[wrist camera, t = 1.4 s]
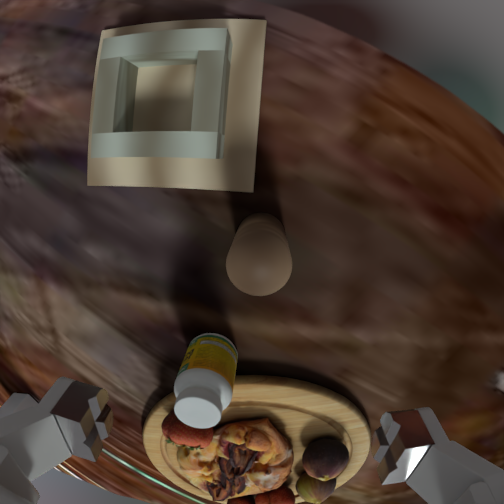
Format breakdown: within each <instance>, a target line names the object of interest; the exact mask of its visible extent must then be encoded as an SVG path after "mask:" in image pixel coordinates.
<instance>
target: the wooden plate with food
mask: <svg viewBox="0 0 504 504" xmlns="http://www.w3.org/2000/svg"><path fill="white" fill-rule="evenodd" d="M175 402H176V396H175V393H174V391H173V392H172V393H170V394H169V395H167V396H166V397H164V398H163V399H162V400H160V401H159V402H158V403H156V404H155V406H154V407H153V408H152V409H151V411H150V412H149V414H148V416H147V418H146V420H145V423H144V426H143V433H142V437H143V444H144V447H145V451H146V453H147V455H148V457H149V459H150V460H151V462H152V463H153V464H154V466H155V467H156V468H157V469H158V470H159V471H160V472H161V473H162V474H163V475H164V476H165V477H166V478H168V479H169V480H170V481H172V482H173V483H174V484H176V485H178V486H179V487H181V488H183V489H184V490H186V491H188V492H190V493H193V494H195V495H197V496H200V497H203V498H206V499H209V500H212V501H216V502H219V503H224V504H295V503H300V502H304V501H307V502H311V503H316V504H319V503H321V502H323V501H324V500H326V499H327V498H328V497H329V496H330V495H331V494H332V493H333V492H334V489H336V488H338V487H339V486H341V485H342V484H344V483H345V482H347V481H348V480H349V479H350V478H352V477H353V476H354V475H355V474H356V473H357V471H358V470H359V469H360V468H361V467H362V465H363V463H364V462H365V460H366V458H367V456H368V453H369V450H370V446H371V431H370V427H369V424H368V422H367V420H366V418H365V417H364V415H363V414H362V412H361V411H360V410H359V409H358V408H357V407H356V406H355V405H354V404H353V403H352V402H351V401H350V400H348V399H347V398H345V397H344V396H342V395H340V394H338V393H336V392H334V391H332V390H330V389H327V388H325V387H322V386H320V385H316V384H313V383H310V382H307V381H303V380H299V379H293V378H286V377H279V376H268V375H238V376H235V379H234V387H233V394H232V399H231V402H230V404H229V405H228V407H227V408H226V409H224V410H223V411H222V414H221V419H220V421H219V422H218V423H217V424H216V425H215V426H213V427H210V428H194V427H191V426H189V425H186V424H184V423H183V422H182V421H180V420H179V419H178V417H177V416H176V414H175V412H174V405H175Z"/></svg>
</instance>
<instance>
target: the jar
mask: <svg viewBox="0 0 504 504" xmlns="http://www.w3.org/2000/svg"><path fill="white" fill-rule="evenodd" d="M37 405H38V403H37V402H36V401H35V400H34V399H33V398H32V397H31V396H30V395H29V394H22V393H13V394H12V395H11V396H10V398H9V399H8V400H7V401H6V402H5V403H4V404H3V406H2V407H1V408H0V418H3V417H5V416H8V415H11V414H13V413H16V412H18V411H21V410H24V409H26V408H29V407H31V406H32V407H35V408H36V406H37Z"/></svg>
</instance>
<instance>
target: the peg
mask: <svg viewBox="0 0 504 504" xmlns="http://www.w3.org/2000/svg"><path fill="white" fill-rule="evenodd" d="M226 269H227V273H228V276H229V278H230V280H231V281H232V283H233V284H234V285H235V286H236V287H237V288H238V289H239V290H241V291H243V292H244V293H247V294H250V295H255V296H264V295H269V294H272V293H274V292H276V291H278V290H279V289H281V288H282V287H283V286H284V285H285V284H286V282H287V281H288V279H289V277H290V274H291V270H292V259H291V255H290V251H289V246H288V242H287V238H286V234H285V229H284V227H283V225H282V223H281V222H280V221H279V220H278V219H277V218H276V217H275V216H273V215H271V214H268V213H263V212H259V213H254V214H251V215H249V216H247V217H246V218H245V219H244V220H243V221H242V222H241V224H240V225H239V227H238V230H237V232H236V235H235V238H234V240H233V243H232V245H231V248H230V250H229V253H228V256H227V260H226Z"/></svg>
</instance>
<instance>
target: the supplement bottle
mask: <svg viewBox="0 0 504 504" xmlns="http://www.w3.org/2000/svg"><path fill="white" fill-rule="evenodd" d="M237 359H238V354H237V350H236V348H235V346H234V345H233V343H232V342H231V341H230V340H229V339H228V338H226V337H224V336H222V335H220V334H216V333H205V334H202V335H199V336H197V337H196V338H194V339H193V340H192V341H191V343H190V345H189V347H188V350H187V352H186V355H185V357H184V360H183V362H182V365H181V367H180V370H179V372H178V375H177V377H176V380H175V383H174V393H175V396H176V402H175V405H174V412H175V414H176V416H177V417H178V419H179V420H180V421H182V422H183V423H184V424H186V425H189V426H191V427H194V428H210V427H213V426H215V425H216V424H217V423H218V422H219V421H220V419H221V414H222V411H223V410H224V409H226V408H227V407H228V405H229V404H230V402H231V399H232V394H233V387H234V379H235V373H236V366H237Z"/></svg>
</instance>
